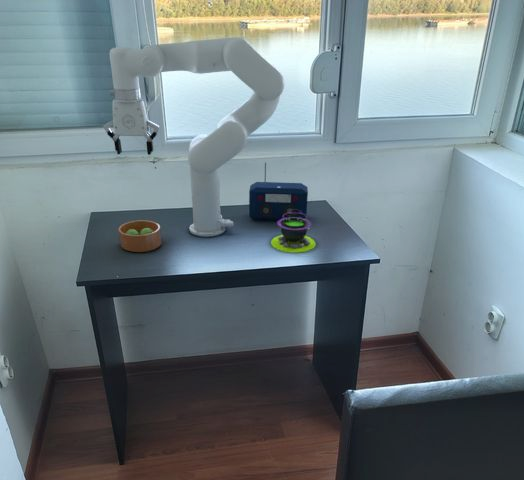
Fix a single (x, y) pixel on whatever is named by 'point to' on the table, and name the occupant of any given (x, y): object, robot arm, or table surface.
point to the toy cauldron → (293, 236)
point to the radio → (277, 200)
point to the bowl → (140, 236)
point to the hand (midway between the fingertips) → (134, 153)
